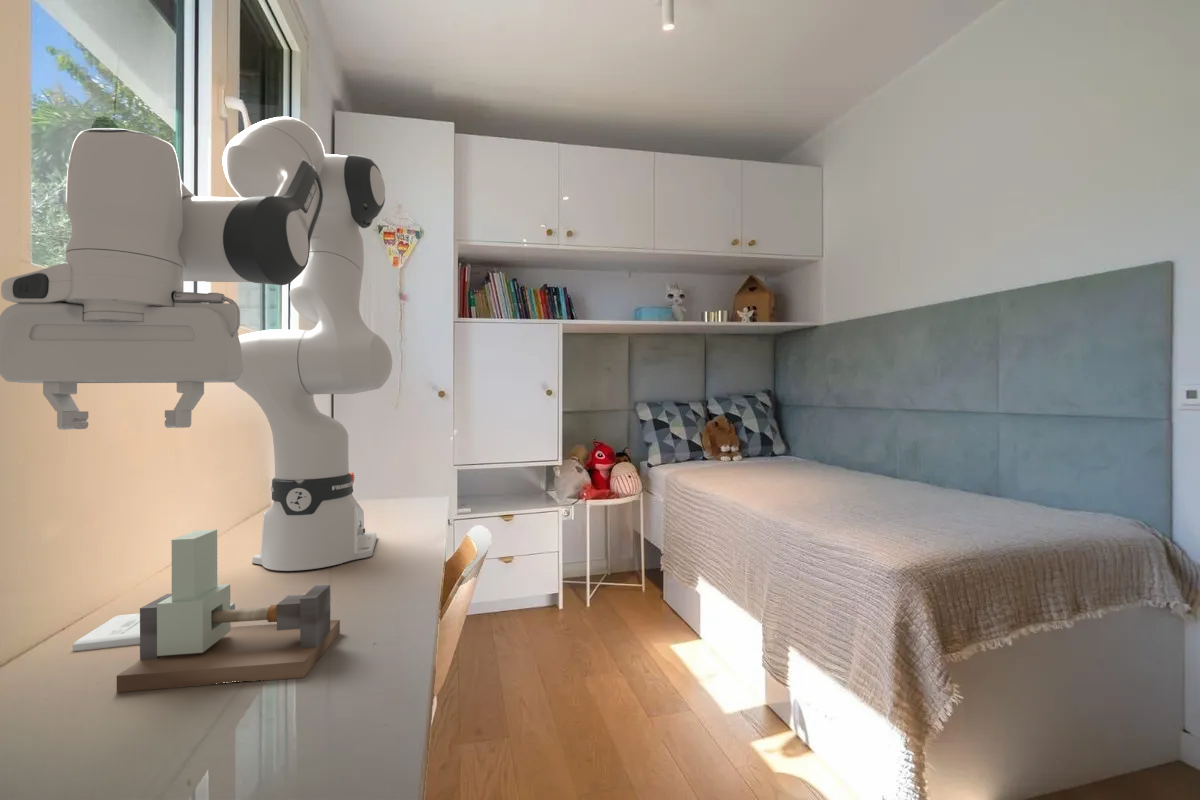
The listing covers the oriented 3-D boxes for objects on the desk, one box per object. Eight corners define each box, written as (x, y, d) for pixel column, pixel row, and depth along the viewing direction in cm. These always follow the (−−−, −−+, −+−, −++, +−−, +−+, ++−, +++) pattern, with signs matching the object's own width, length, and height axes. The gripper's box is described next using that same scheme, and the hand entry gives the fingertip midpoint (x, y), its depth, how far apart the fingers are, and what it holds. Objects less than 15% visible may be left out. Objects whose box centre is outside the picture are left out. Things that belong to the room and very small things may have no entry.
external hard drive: (206, 642, 60) (72, 657, 57) (235, 614, 68) (118, 626, 65) (206, 627, 60) (71, 642, 57) (235, 601, 68) (118, 612, 65)
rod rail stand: (185, 643, 58) (185, 584, 58) (339, 632, 61) (339, 575, 61) (116, 692, 48) (116, 620, 48) (304, 677, 51) (303, 609, 51)
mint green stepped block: (189, 633, 56) (188, 529, 56) (230, 631, 57) (230, 527, 57) (157, 655, 51) (156, 541, 51) (202, 652, 52) (202, 539, 52)
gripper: (254, 299, 58) (254, 426, 58) (41, 296, 55) (39, 429, 55) (222, 285, 52) (222, 427, 52) (-20, 281, 49) (-22, 431, 49)
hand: (126, 428), depth 53 cm, fingers open, 8 cm apart
